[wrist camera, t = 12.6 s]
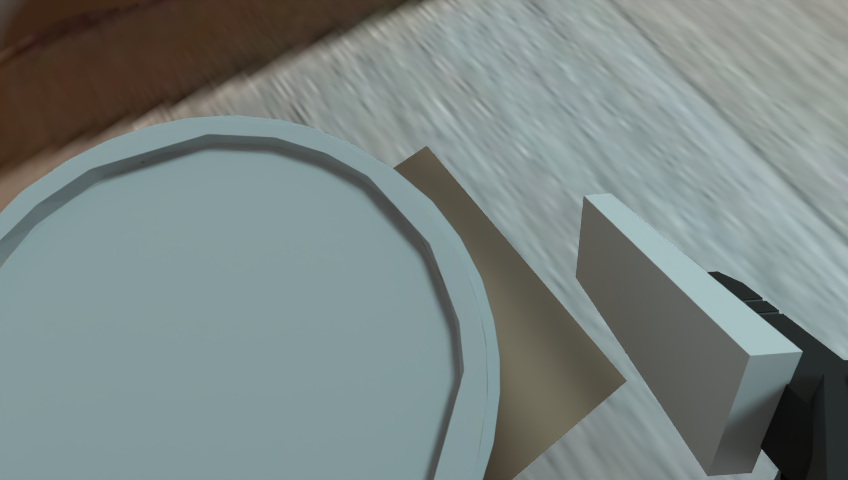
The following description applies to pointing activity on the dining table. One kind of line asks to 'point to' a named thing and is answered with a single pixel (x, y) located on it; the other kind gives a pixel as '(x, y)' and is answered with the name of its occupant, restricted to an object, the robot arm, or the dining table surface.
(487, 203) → the dining table surface
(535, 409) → the walnut base
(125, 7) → the dining table surface
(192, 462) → the disposable coffee cup
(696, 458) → the robot arm
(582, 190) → the dining table surface
